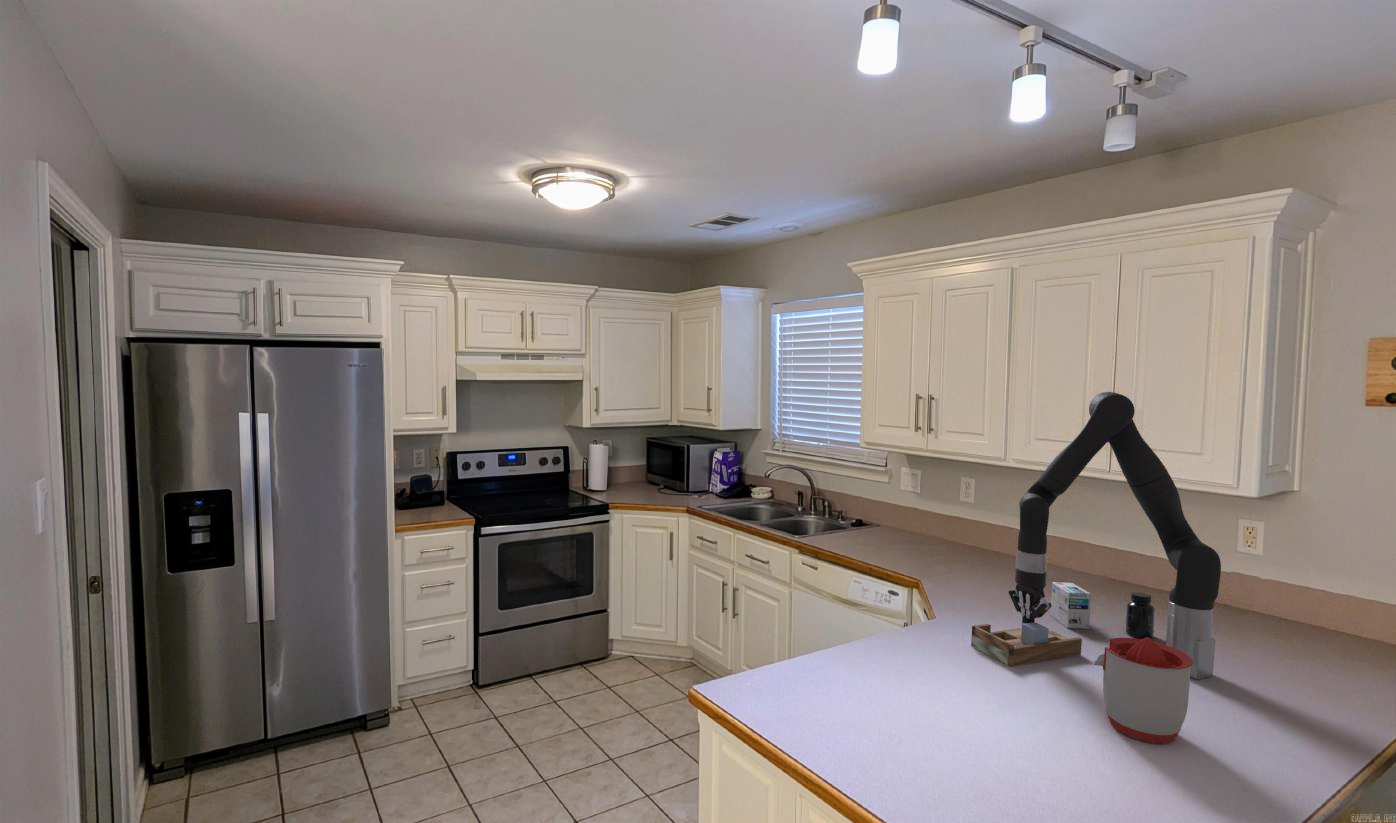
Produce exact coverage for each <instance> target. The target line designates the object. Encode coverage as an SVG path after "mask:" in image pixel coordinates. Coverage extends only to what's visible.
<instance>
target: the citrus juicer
mask: <svg viewBox="0 0 1396 823" xmlns="http://www.w3.org/2000/svg"><path fill="white" fill-rule="evenodd" d="M1192 664H1193V661H1192V659H1191V658H1190V657H1189V656H1188V655H1187V654H1185V653H1183V652H1182V651H1179V650H1177V649H1175V648H1172V647H1170V646H1167V645H1166V644H1163V643H1159V642H1155V641H1154V640H1153V638H1151V639H1150V638H1148V637H1146V638H1144V639H1139V638H1135V637H1115V638H1114V637H1113V638H1110V639H1109V644H1108V647H1106V646H1105V647H1104V654H1100V655H1099V656H1097V658H1096V660H1095V661H1094V662H1093V664H1092V665H1093V666H1101V667H1102V670H1103V678H1102V693H1103V701H1104V706H1105V710H1106V714H1107V718H1108V719H1109V723H1110V725H1111V727H1113V728H1114V729H1116V731H1117V732H1119V733H1121V734H1124V735H1125V736H1128V737H1130V738H1132V739H1133V738H1134V739H1136V740H1139V741H1143V742H1147V743H1151V744H1152V743H1154V744H1157V745H1163V744H1167V743H1169V744H1170V743H1171V742H1173V741H1174V740H1175V739H1176V738H1177V736H1178V735H1179V733H1180V732H1181V728H1182V727H1183V724H1184V722H1185V720H1186V715H1187V712H1188V705H1189V695H1190V683H1191V677H1190V671H1191V666H1192Z"/></svg>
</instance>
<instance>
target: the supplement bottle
mask: <svg viewBox="0 0 1396 823" xmlns="http://www.w3.org/2000/svg"><path fill="white" fill-rule="evenodd" d="M1130 600H1131V601H1128V602H1127V603H1126V618H1125V633H1126V634H1127V635H1128V636H1130V637H1131V638H1136V639H1144V638H1146V637H1148V638H1150V639H1153V638H1154V632H1155V631H1154V630H1155V613H1156V612H1155V610H1156V609H1155V607H1154V605H1152V604H1151V603H1152V595H1151V594H1149V593H1145V592H1140V591H1134V592H1131V595H1130Z"/></svg>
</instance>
